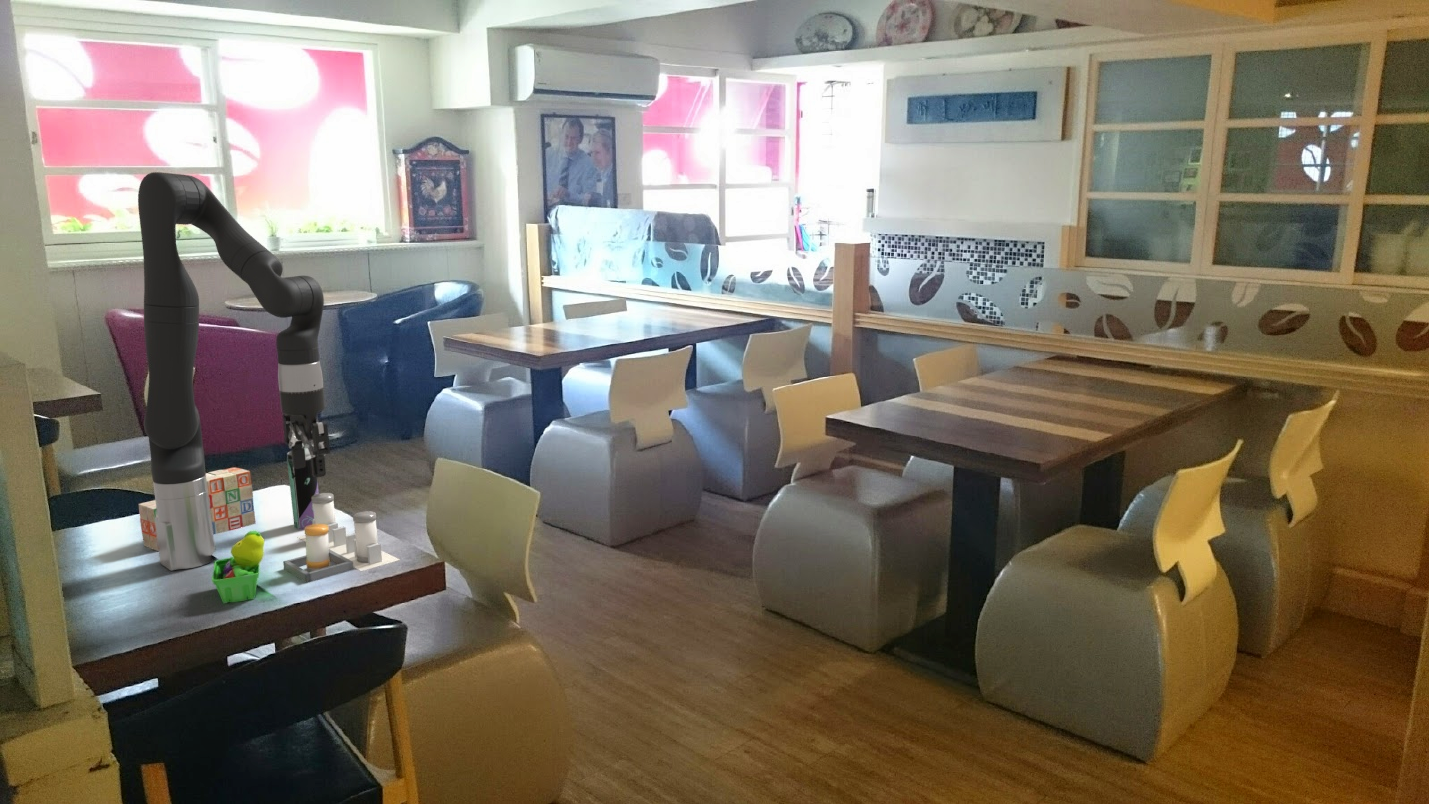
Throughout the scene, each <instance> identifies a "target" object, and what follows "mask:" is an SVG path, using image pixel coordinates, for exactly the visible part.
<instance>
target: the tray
mask: <svg viewBox="0 0 1429 804" xmlns="http://www.w3.org/2000/svg"><path fill="white" fill-rule="evenodd" d="M329 559H330V561H331V562H332V563H335V564H333V565H331V566H330V565H329V566H330V567H326V568H323V569H319V570H316V571H312V572H307V571H306V570H305V569H303V568H301V567H304V566H306V554H305V555H303V556H302V555H301V556H300V557H295V558H290V559H287V560H284V561H283V562H282V564H283V570H284V571H287V572H288V573H290V574H291V575H293V576H295V577H296V578H298V579H300V580H302V581H303V582H305V583H310V582H315V581H318V580H321V579H324V578H329V577H331V576H335V575H339V574H343V573H345V572H349V571H353V570H355V568H354V567H353V561H351V560H349V559H347V558H345V557H343V556H341V555H339V554H337V553H335V552H333V551H332V550H330V549H329Z"/></svg>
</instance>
